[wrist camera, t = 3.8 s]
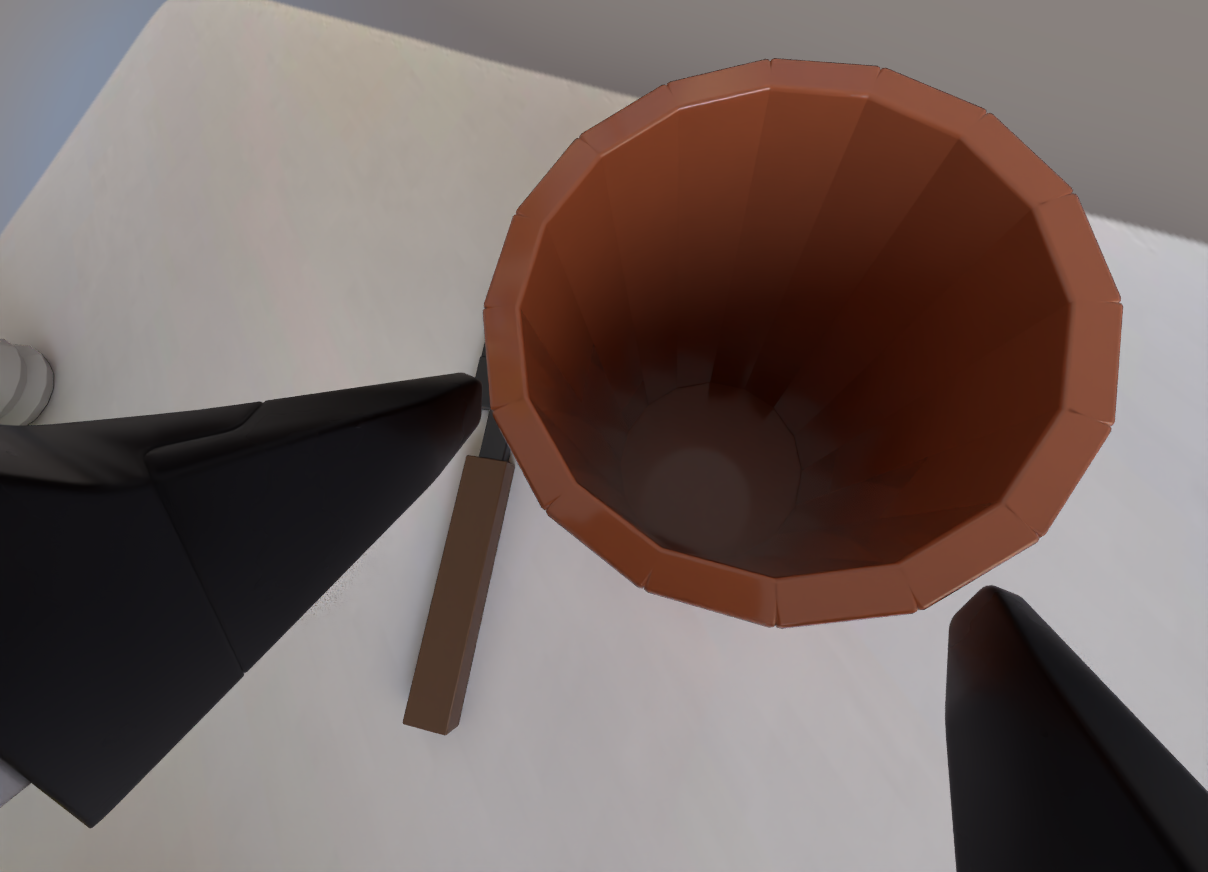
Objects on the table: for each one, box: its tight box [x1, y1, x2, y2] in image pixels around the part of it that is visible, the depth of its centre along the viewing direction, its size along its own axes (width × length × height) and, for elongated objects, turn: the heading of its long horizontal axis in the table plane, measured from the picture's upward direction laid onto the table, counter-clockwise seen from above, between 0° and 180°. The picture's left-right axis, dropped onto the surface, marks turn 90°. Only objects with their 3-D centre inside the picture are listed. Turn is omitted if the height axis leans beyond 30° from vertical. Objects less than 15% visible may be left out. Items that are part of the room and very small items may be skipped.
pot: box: [483, 58, 1123, 629], centre depth 12 cm, size 7×7×12 cm
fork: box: [403, 344, 515, 735], centre depth 18 cm, size 17×3×1 cm, turn 169°
